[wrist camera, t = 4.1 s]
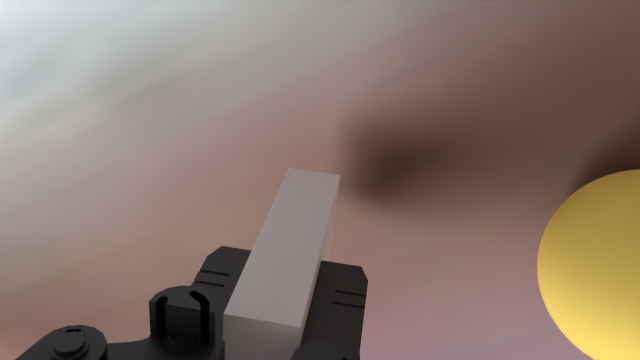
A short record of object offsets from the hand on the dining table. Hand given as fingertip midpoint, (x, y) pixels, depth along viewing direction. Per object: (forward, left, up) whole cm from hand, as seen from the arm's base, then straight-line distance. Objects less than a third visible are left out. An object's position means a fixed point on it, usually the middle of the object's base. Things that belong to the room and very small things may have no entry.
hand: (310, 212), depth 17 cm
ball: (0, +9, +1) cm, 9 cm away
